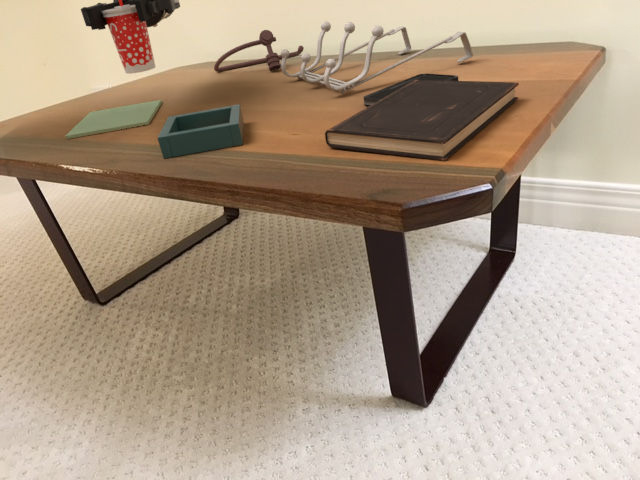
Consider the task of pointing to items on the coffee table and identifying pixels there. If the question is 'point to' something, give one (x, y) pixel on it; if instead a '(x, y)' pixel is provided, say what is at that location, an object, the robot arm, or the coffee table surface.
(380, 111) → the hardcover book
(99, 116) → the mat
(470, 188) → the coffee table surface
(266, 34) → the toilet paper hanger
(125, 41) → the beverage cup
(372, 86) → the coffee table surface
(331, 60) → the over door rack
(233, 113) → the open rectangular box
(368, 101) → the phone
